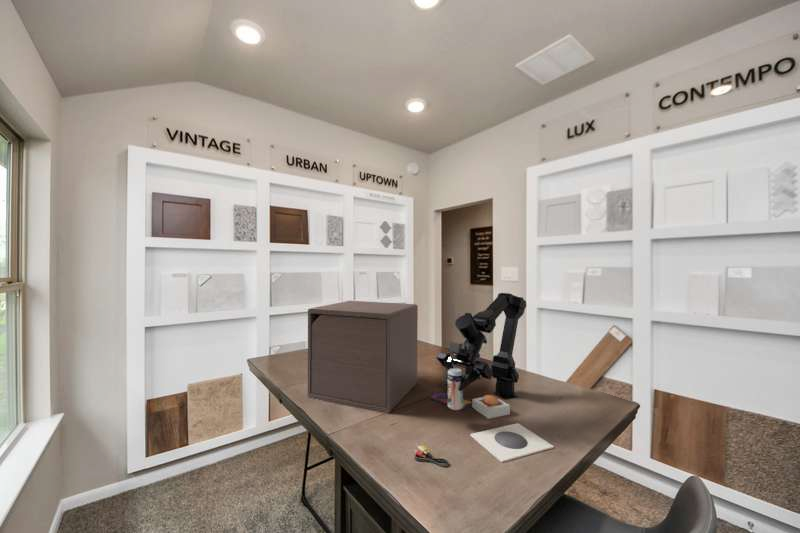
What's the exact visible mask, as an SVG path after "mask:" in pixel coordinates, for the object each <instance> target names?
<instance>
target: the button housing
mask: <svg viewBox="0 0 800 533" xmlns="http://www.w3.org/2000/svg"><path fill="white" fill-rule="evenodd" d="M483 397H484V396H481V397H475V398H472V401H471V402H472V405H471V406H472V408H473V409H474V410H475V411H477V412H478V413H479V414H480V415H482V416H483V417H485V418H487V419H488V420H489V419H494V418H498V417H499V418H500V417H503V416H508V415H511V405H510V404H509V403H506V402H505V401H503V400H501V399H500V398H498V405H497V406H492V407H490V406H487V405H485V404H484V403H483Z"/></svg>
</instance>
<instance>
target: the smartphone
mask: <svg viewBox="0 0 800 533" xmlns="http://www.w3.org/2000/svg"><path fill="white" fill-rule="evenodd" d="M429 399H430V400H432V399H433V401H435V402H437V401H438V403H440V402H441V404H444V405H446V406H448V393H447V392H446V393H445V392H442V391H439V392H436V393H434V394H432V395H430V396H429ZM470 406H472V401H471V400H468V399H465V398H463V408H462V409H460V410H459V411H465V410H466V409H467V408H469V407H470Z"/></svg>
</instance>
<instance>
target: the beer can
mask: <svg viewBox="0 0 800 533" xmlns="http://www.w3.org/2000/svg"><path fill="white" fill-rule="evenodd" d="M463 377H464V374H463V370H462V369H460V368H458V367H455V368H450V369H449V371H448V386H447V394H448V405H447V407H448V408H449V409H451V410H453V411H461V410H460V409H462V408H463V399H464V389H463V390H462V391H459V386H460V383H461V381H462V379H463Z"/></svg>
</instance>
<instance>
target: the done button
mask: <svg viewBox="0 0 800 533" xmlns="http://www.w3.org/2000/svg"><path fill="white" fill-rule="evenodd" d="M482 397H483V403H484V404H485V405H487V406H490V407H492V406H497V405H498V399H499V396H498V397H497V396H496V395H492V394H486V395H484V396H482Z"/></svg>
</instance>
